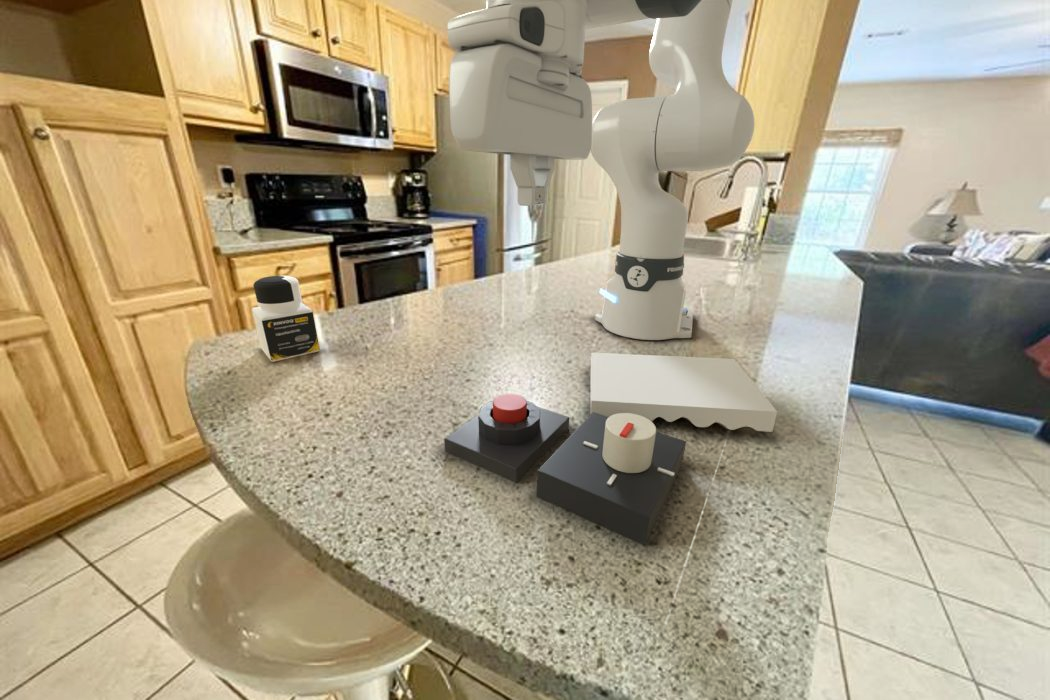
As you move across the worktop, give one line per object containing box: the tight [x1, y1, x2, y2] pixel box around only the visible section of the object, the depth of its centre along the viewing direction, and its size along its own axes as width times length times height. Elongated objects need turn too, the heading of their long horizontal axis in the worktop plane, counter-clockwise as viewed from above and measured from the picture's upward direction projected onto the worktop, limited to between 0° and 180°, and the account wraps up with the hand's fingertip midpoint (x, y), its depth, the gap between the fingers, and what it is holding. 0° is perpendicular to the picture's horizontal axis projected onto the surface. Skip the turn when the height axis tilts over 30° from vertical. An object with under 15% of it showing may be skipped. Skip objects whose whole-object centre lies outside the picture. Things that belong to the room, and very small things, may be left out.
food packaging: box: [589, 352, 778, 433], centre depth 54 cm, size 15×3×20 cm
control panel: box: [536, 412, 687, 546], centre depth 40 cm, size 12×10×3 cm
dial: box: [602, 413, 657, 473], centre depth 38 cm, size 4×4×4 cm
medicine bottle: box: [251, 275, 321, 363], centre depth 66 cm, size 7×7×12 cm
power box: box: [443, 400, 570, 484], centre depth 45 cm, size 11×9×4 cm
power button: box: [492, 393, 528, 424], centre depth 45 cm, size 4×4×2 cm
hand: (532, 205), depth 43 cm, fingers closed
